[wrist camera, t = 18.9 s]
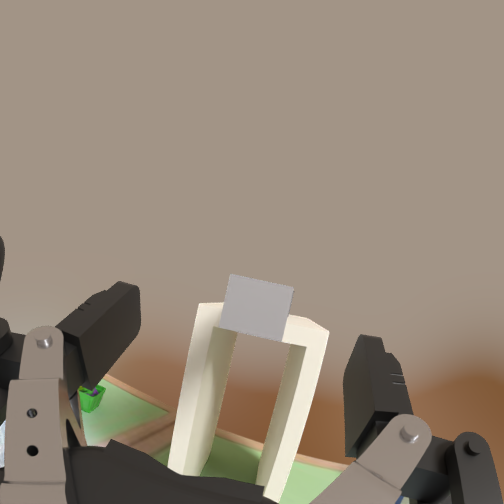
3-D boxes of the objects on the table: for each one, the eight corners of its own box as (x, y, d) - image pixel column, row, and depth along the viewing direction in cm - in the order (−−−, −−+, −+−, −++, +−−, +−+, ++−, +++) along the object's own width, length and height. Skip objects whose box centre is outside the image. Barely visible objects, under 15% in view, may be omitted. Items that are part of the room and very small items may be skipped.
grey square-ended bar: (304, 346, 16) (320, 273, 17) (196, 321, 17) (212, 251, 18) (287, 315, 52) (292, 291, 52) (251, 307, 53) (256, 284, 53)
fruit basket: (105, 406, 62) (110, 363, 63) (89, 419, 53) (94, 372, 54) (65, 390, 62) (69, 348, 63) (46, 399, 53) (50, 353, 54)
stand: (260, 547, 28) (329, 331, 32) (159, 521, 29) (199, 303, 33) (268, 466, 53) (307, 318, 57) (201, 450, 55) (233, 302, 59)
